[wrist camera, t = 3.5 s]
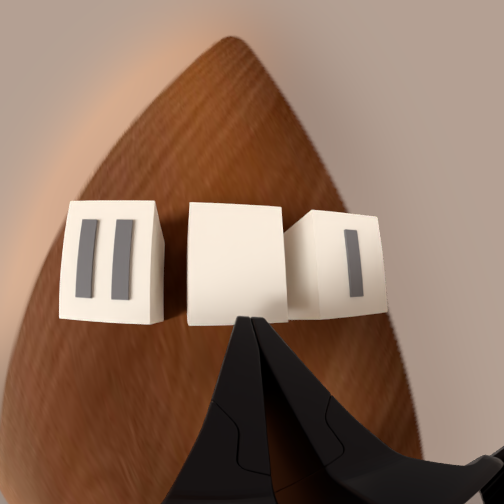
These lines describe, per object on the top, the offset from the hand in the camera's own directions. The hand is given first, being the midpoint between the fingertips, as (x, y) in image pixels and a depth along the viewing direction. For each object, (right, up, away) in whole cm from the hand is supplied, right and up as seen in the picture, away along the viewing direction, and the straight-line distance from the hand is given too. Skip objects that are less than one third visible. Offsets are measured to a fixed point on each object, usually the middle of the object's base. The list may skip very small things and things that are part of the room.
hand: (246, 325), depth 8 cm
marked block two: (-7, 0, +8) cm, 11 cm away
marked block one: (+3, 0, +11) cm, 11 cm away
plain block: (-2, 0, +9) cm, 10 cm away
